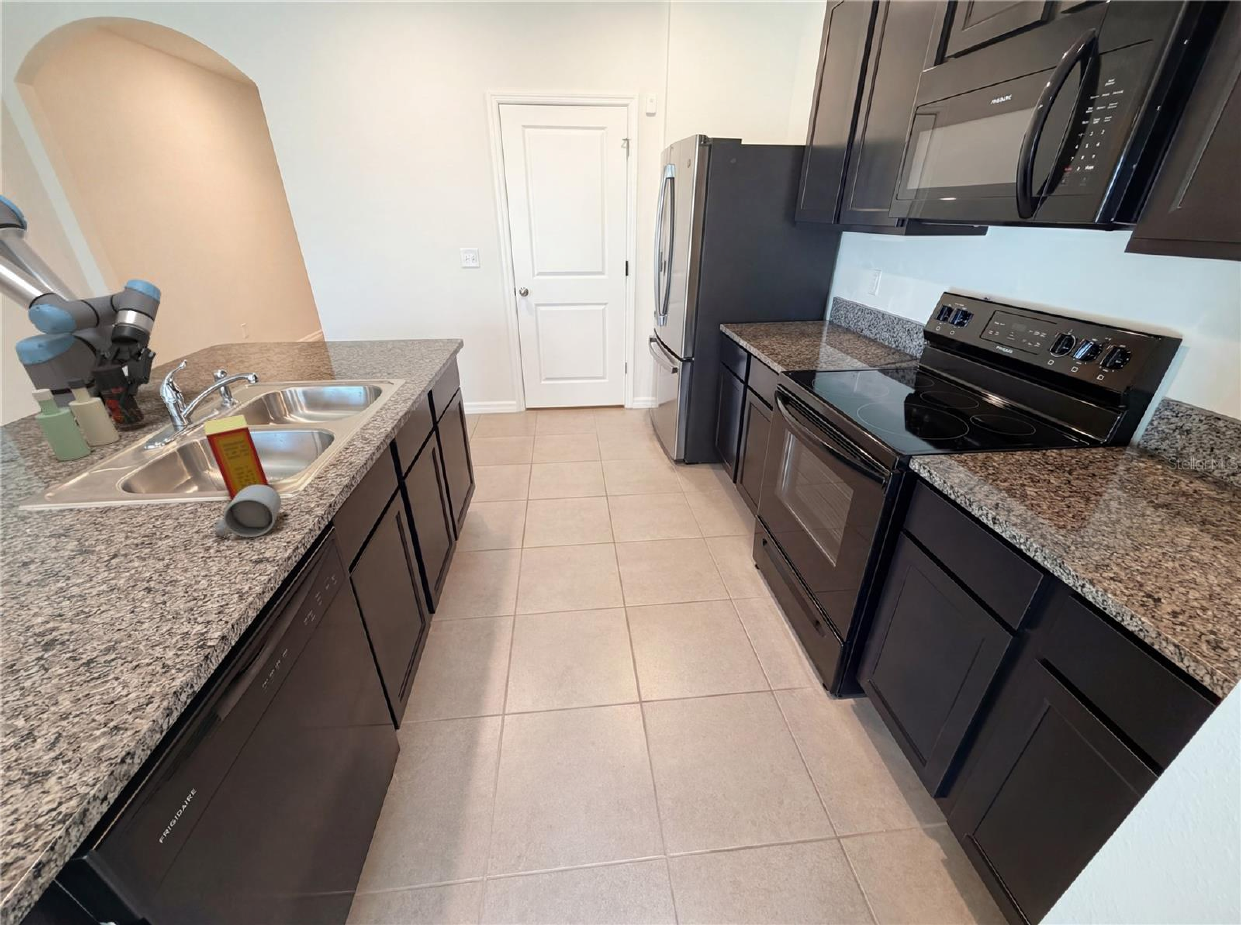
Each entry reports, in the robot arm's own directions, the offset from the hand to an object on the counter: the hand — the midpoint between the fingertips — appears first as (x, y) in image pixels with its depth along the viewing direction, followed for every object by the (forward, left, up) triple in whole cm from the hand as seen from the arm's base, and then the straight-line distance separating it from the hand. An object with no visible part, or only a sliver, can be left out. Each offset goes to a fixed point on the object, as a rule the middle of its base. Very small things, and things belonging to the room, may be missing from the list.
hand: (111, 407), depth 133 cm
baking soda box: (+51, +43, -7) cm, 67 cm away
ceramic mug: (+66, +46, -7) cm, 81 cm away
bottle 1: (+14, -4, -7) cm, 16 cm away
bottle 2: (+5, -2, -7) cm, 9 cm away
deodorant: (-4, +1, -6) cm, 7 cm away
